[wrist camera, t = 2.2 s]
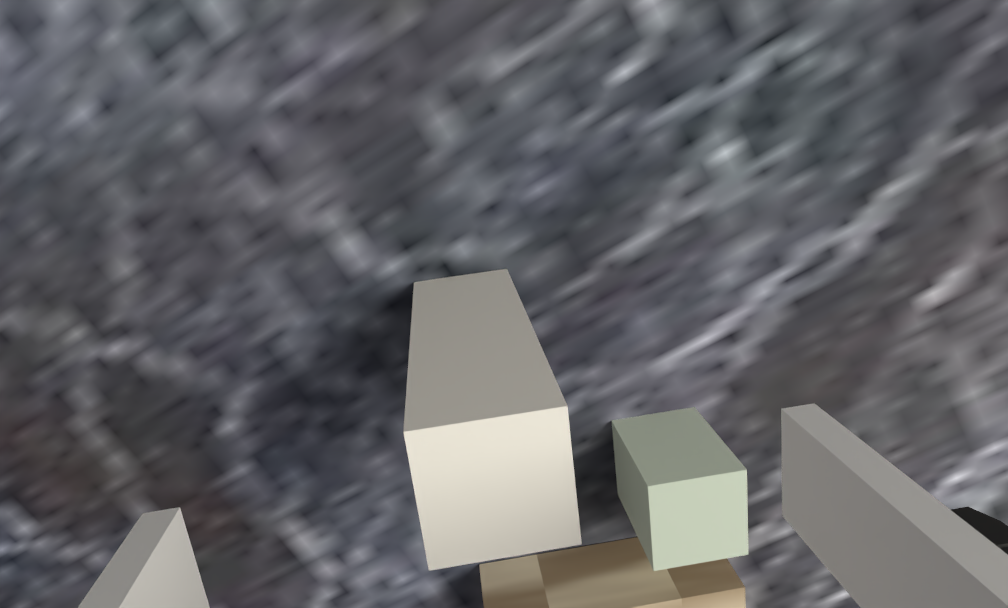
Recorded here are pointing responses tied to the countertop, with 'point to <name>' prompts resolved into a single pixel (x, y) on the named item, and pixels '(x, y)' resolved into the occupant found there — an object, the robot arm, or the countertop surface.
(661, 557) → the short peg
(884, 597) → the robot arm
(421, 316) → the long peg
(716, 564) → the hole block
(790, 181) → the countertop surface
